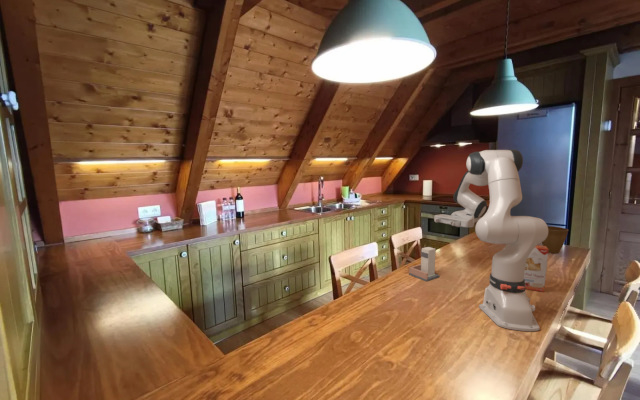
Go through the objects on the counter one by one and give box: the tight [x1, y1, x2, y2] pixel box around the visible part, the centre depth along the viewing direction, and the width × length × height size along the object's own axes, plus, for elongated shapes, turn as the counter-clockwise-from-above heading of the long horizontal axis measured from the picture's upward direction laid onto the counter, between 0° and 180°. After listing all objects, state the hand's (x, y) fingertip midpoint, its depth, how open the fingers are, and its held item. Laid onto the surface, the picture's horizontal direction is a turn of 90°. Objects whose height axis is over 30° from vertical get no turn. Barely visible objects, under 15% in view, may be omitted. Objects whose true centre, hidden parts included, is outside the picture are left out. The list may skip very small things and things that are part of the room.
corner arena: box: [408, 263, 440, 282], centre depth 158 cm, size 11×10×4 cm
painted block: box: [420, 246, 436, 276], centre depth 156 cm, size 4×6×14 cm
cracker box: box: [524, 244, 549, 293], centre depth 141 cm, size 14×6×21 cm, turn 62°
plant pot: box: [541, 225, 569, 254], centre depth 196 cm, size 15×15×16 cm
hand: (443, 222), depth 159 cm, fingers open, 8 cm apart
